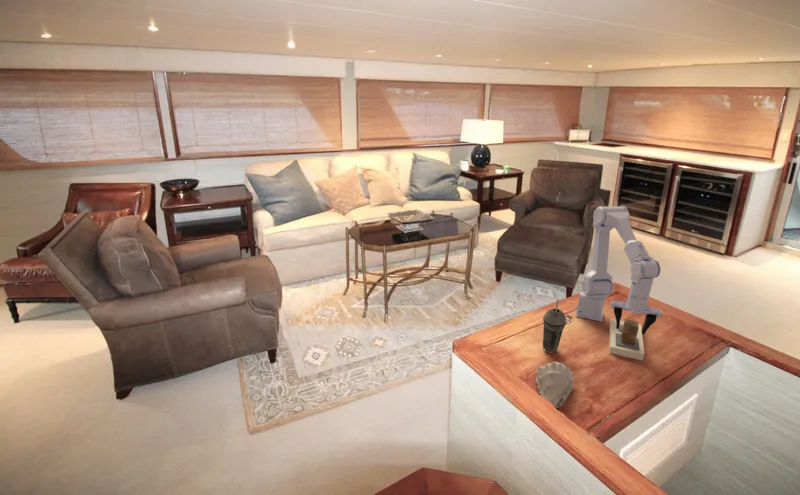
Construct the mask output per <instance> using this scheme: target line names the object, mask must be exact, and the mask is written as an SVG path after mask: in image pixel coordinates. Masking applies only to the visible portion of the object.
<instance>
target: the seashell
mask: <svg viewBox="0 0 800 495" xmlns="http://www.w3.org/2000/svg"><path fill="white" fill-rule="evenodd" d="M537 369H538V370H535V374H536V376H535V385H536V388H537V391H538V393H539V395H540V394H541V395H543V396H544V397H545V398H546V399H547V400H548V401H549V402H551V403H552V404H553V405H554V406H555V407H557V408H556V409H560V408H562V407H563V405H564V404H565V403H566V401H567V399H568V397H569V395H570V394H571V392H572V391H573V389H574V383H575V382H574V381H575V379H574V376H575V373H574V372H573V371H571V369H570V368H569V367H568V366H566V365H565V364H564V363H562V362H558V361H552V362H549V363H545V364H543V365H542V366H537Z"/></svg>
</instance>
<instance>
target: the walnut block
mask: <svg viewBox="0 0 800 495" xmlns="http://www.w3.org/2000/svg"><path fill="white" fill-rule="evenodd" d="M623 321H624V325H623V329H622V331H621V332H622V333H621V342H622V343H626V344H631V345H634V344H635V340H636V336H637V333H638V329H639V325H638V324H639V321H637V320H632V319H627V318H624V320H623Z"/></svg>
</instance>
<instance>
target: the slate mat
mask: <svg viewBox="0 0 800 495" xmlns="http://www.w3.org/2000/svg"><path fill="white" fill-rule="evenodd" d="M616 346H621V347H625V348H629V349H634V350H638V351H639V339H638V338H636V340H635V344H634V345H631V344H626V343H622V342H621V334H617V333H616Z"/></svg>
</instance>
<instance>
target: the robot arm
mask: <svg viewBox="0 0 800 495" xmlns="http://www.w3.org/2000/svg"><path fill="white" fill-rule="evenodd" d="M592 218H593V219H592V227H593V228H594V232H593V249H592V263H591V270H589V271H588V272H587V273H586V274H584V276H583V280H582V283H581V290H582V291H579V292H580V293H579V295H578V296H579V297H578V301H577V302H578V303H577V304H576V307H575V309H576V314H575V316H576V317H578V318H583V319H588V320H593V321H597V322H603V320H604V308H605V303H606V298H608V297H609V295H612V294H613V291H614V282H613V276H612V275H611V274H610V273H608V260H609V250H610V249H609V247H610V246H609V245H610V234H611V231H612V230H613V229H615V230H616V232H617V234H618V235H619V236H620V238H621V240H622V241H623V243H624V247H623V250H624V252H625V254H626V256H627V258H628V260H629V262H630V264H631V265H630V273H631V274H630V275H631V276H630V281H631V284H630V288H629V291H628V296H627V300H626V301H618V300H611V302H610V309H613V314H614V316H615V319H616V322H617V324H616V329H619V325H620V320H622V319H621V318H622V316H623V311H629V312H632V314H635V315H640V314H643V315H645V317H644V323H643V326H642V327H641V329H642V336H644V335H645V334H646V332H647V331H648V329H649V328H650V327H651V326H652V325H653V324H655V322H656V321H657V318H659V319H661V316H662V310H661V309H657V308H654V307H653V306H652V307H651V306H649V305H647V304H648V303H649V302H648V301H649V298H650V293H651V290H652V286H653V283H654V279H655V278H658V277H659V276H660V275H661V265H660V262H659V261H658V260H656V259H654V258H653V257H652V256H650V254H649V253H648V251H647V249H646V247H645V246H644V243H643V242H642V241H640V240H637V239H636V236H635V233H634V231H633V228H632V226H631V224H630V222H629V220H630V212H629V210H628V208H627V207H626V206H625V205H621V206H598V207H597V208H595V209H594V211H593V216H592Z"/></svg>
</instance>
